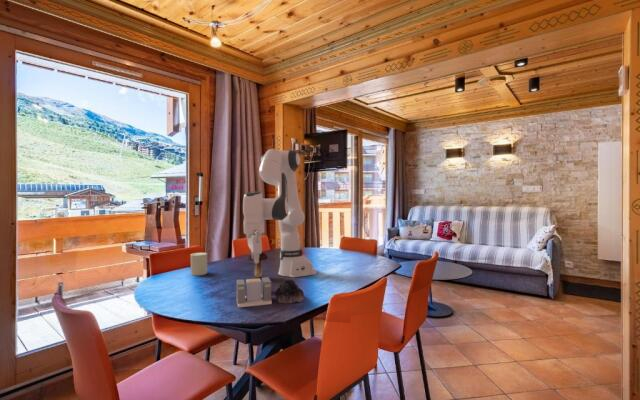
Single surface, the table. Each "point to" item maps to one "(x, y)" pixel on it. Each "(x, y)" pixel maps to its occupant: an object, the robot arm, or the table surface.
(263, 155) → the robot arm
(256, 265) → the decorative mushroom
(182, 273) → the table surface
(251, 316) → the table surface
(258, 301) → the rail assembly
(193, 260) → the can
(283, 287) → the dark grey rock
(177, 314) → the table surface
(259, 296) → the block
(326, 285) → the table surface
